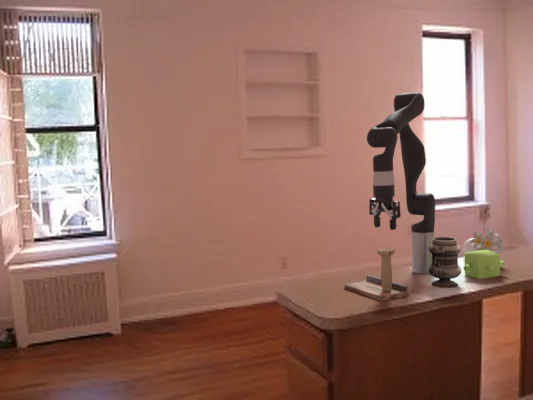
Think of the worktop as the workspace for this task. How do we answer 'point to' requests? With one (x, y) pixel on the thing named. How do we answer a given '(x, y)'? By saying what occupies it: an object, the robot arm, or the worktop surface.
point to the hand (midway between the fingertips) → (384, 228)
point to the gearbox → (482, 264)
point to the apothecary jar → (444, 261)
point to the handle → (386, 268)
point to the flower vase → (482, 242)
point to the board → (377, 289)
